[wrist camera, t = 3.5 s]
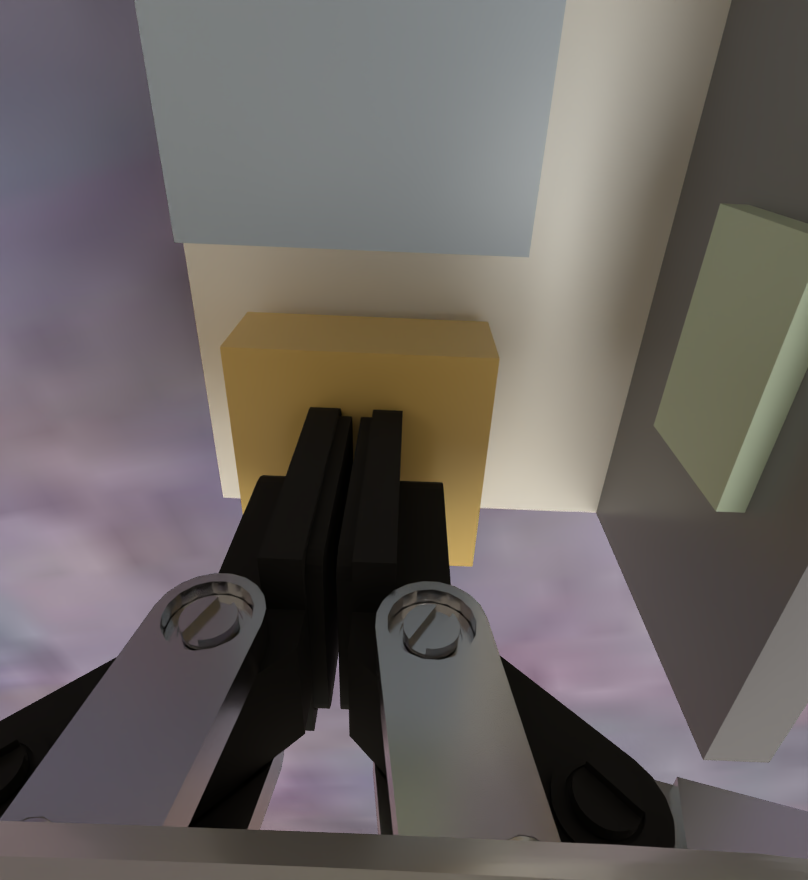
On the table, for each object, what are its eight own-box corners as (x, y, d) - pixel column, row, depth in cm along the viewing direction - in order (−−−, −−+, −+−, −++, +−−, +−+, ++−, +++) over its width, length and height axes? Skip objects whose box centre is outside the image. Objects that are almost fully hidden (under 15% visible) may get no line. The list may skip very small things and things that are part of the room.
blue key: (162, -206, 7) (84, -299, 5) (561, -187, 7) (606, -275, 5) (216, 217, 9) (173, 242, 7) (509, 229, 9) (528, 257, 7)
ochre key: (247, 311, 11) (220, 346, 9) (487, 321, 11) (499, 358, 9) (268, 504, 13) (248, 557, 12) (465, 512, 13) (472, 566, 12)
